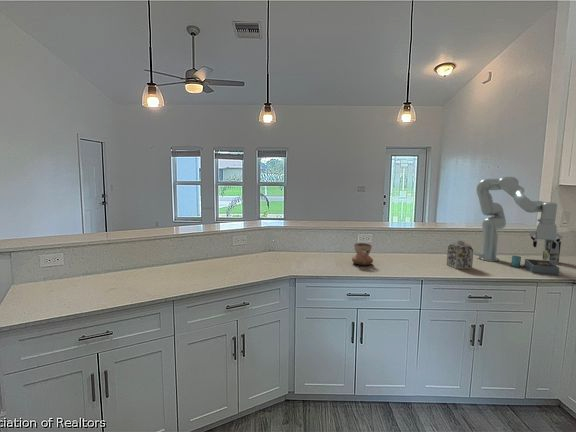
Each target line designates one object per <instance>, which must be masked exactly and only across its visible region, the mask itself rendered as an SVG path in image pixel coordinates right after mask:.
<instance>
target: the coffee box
mask: <svg viewBox="0 0 576 432" xmlns="http://www.w3.org/2000/svg"><path fill="white" fill-rule="evenodd" d="M552 242H553V240H544V239H543V248H542V249H543V253H542V260H545V261H551V262H552V263H553V264H555V265H559V263H560V254H561V245H562V241H561V240H560V241H558V242H557V243H556V248H555V249H553V248H552Z"/></svg>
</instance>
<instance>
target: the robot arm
mask: <svg viewBox="0 0 576 432" xmlns="http://www.w3.org/2000/svg"><path fill="white" fill-rule="evenodd" d="M499 190H501V191H502V190H503V191H504V192H505V193H506V194H508V195H510V196H511V197H512V199H513V201H514V202H515V204H516V205H517V206H518V207H520V209H522V210H523V211H524V212H527V213H529V214H530V213H532V214H533V213H540V218H539V219H537V220H536V221H537V222H538V224H537V226H536V231H534V232H533V231H532V232H530V233H529V234H528V235H529V237H530V239H531V240H532V246H533V247H534V248H537V246H538V245H537V244H538V241H539V240H543V241H544V240H553V242H552V248H553V249H555V248H556V243H557V242H558V241H560V242H561V240H562V239H563V235H560V234H559V233H558V231H557V228H558V227H557V226H558V225H557V224H556V217H557V211H558V204H557V203H556V202H552V201H551V202H550V201H549V202H548V201H541V200H531V199H530V198H528V197H527V196H526V195H525V188H524V187H523V186H522V185H520V184H519V180H518V178H516V177H515V176H503V177H499V178H484V179H482V180H480V181H479V182H478V184H477V185H476V194H477V196H478V200H479V201H478V202H479V205H480V211H481V213H482V215H484V216H485V217H486V216H487V218H485V219H484V220H483V221H482V223H481V224H482V225H481V226H482V243H481V252H473V256H477V257H478V259H480V260H483V261H486V262H487V261H488V262H497V261H498V262H499V258H498V257H497V251H498V240H499V237H498V236H499V235H498V231H497V230H502V229H504V228H505V227H506V225H507V222H506V216H505V212H504V208H503V206H502V205H501V204H500V203H498V202H494V201H493V196H492V194H491V192H490V191H499ZM488 216H490V217H488ZM534 236H535V237H534Z"/></svg>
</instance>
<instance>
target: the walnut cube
mask: <svg viewBox="0 0 576 432" xmlns="http://www.w3.org/2000/svg"><path fill="white" fill-rule="evenodd" d="M549 265H550V264H548V263H546V262H538V263H537V266H548V267H549Z"/></svg>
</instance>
